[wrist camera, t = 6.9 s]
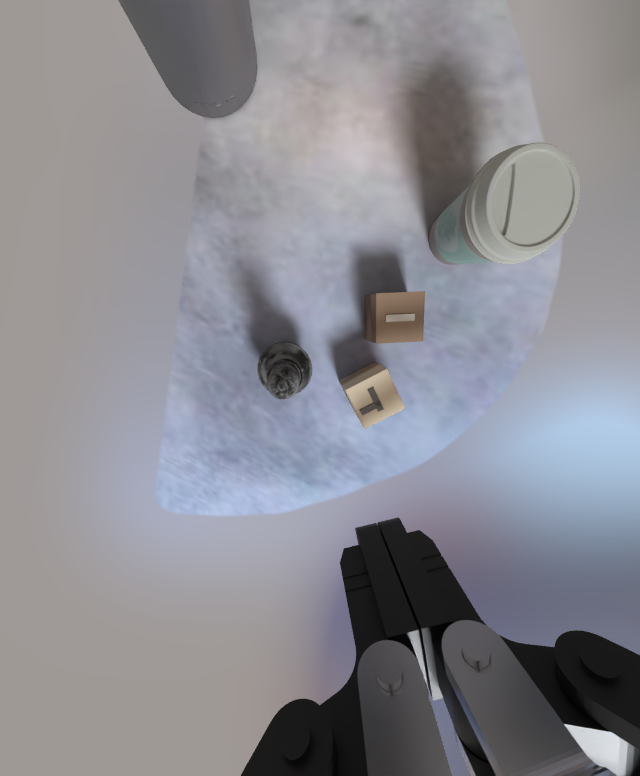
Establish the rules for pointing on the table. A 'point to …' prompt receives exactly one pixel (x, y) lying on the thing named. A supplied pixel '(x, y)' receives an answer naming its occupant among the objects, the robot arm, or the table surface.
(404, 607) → the robot arm
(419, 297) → the walnut block digit
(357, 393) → the beech block digit
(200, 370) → the table surface
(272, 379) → the black chess piece
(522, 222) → the coffee cup
